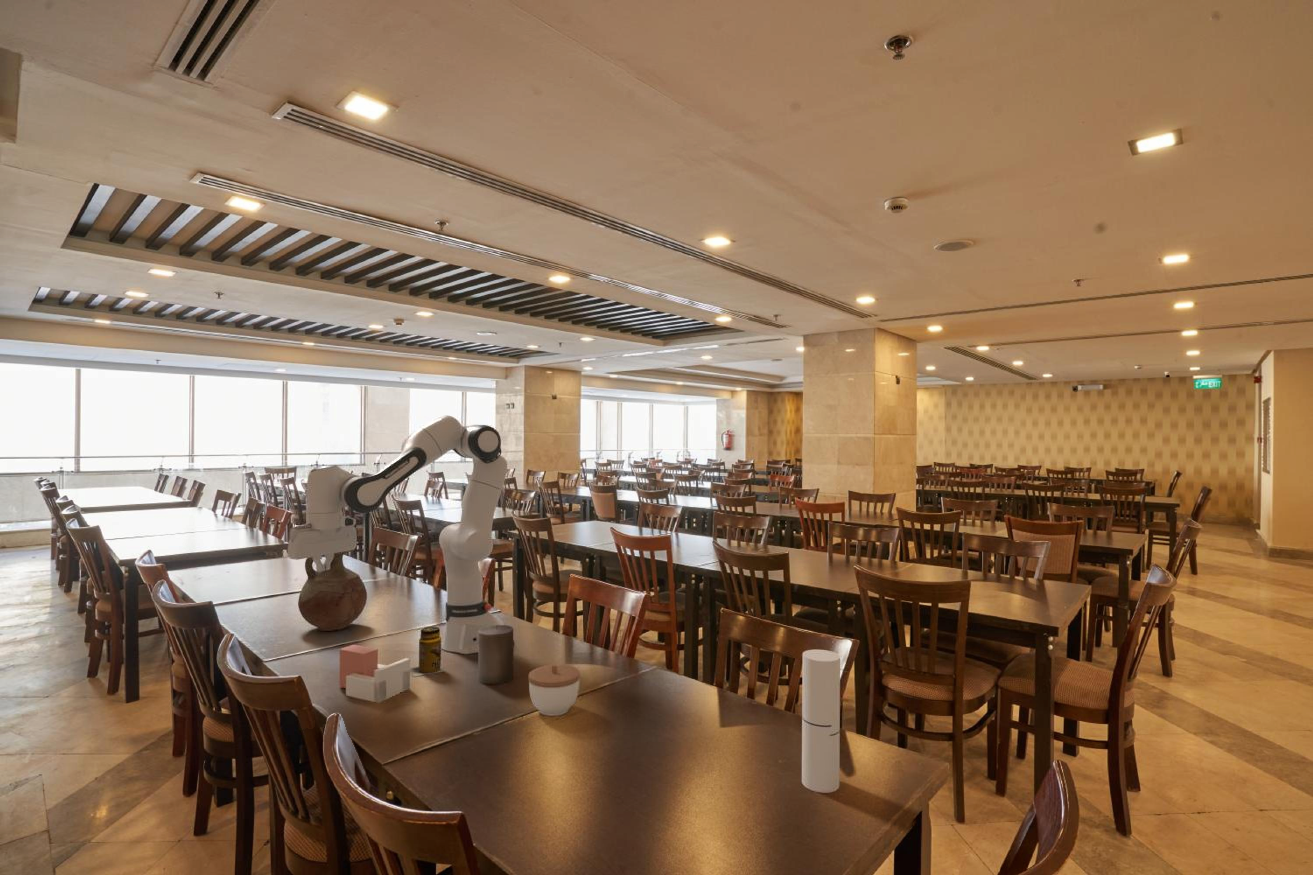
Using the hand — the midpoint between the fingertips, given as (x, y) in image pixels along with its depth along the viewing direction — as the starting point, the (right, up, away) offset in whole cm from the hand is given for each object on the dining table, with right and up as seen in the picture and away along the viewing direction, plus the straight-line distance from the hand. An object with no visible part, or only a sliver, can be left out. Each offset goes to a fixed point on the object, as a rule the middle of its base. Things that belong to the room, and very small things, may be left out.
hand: (323, 570), depth 189 cm
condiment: (+29, -30, +2) cm, 41 cm away
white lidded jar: (+70, -30, -25) cm, 80 cm away
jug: (-18, -29, +43) cm, 55 cm away
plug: (+15, -29, -11) cm, 35 cm away
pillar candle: (+50, -30, -4) cm, 58 cm away
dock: (+22, -29, -14) cm, 39 cm away
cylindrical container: (+127, -30, -59) cm, 144 cm away
